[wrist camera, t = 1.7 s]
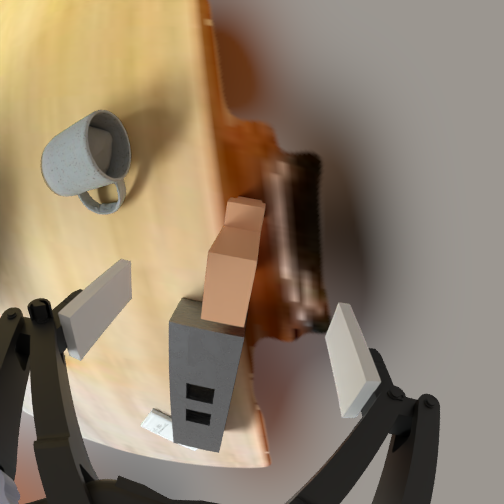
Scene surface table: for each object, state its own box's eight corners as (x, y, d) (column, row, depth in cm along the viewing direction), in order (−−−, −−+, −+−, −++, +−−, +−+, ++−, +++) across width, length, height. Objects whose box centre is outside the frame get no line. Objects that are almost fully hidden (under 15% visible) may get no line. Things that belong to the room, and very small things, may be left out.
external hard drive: (195, 445, 46) (142, 421, 44) (212, 433, 43) (153, 406, 41) (194, 451, 44) (139, 427, 43) (211, 440, 42) (150, 412, 40)
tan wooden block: (223, 271, 30) (198, 340, 19) (236, 190, 27) (212, 220, 16) (250, 276, 30) (239, 348, 19) (266, 196, 27) (263, 229, 16)
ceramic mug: (71, 138, 25) (28, 142, 18) (124, 111, 24) (83, 105, 17) (91, 218, 29) (52, 239, 22) (146, 201, 28) (110, 220, 21)
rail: (179, 421, 42) (173, 442, 37) (182, 297, 32) (168, 321, 27) (222, 430, 42) (218, 452, 37) (247, 311, 32) (244, 337, 27)
